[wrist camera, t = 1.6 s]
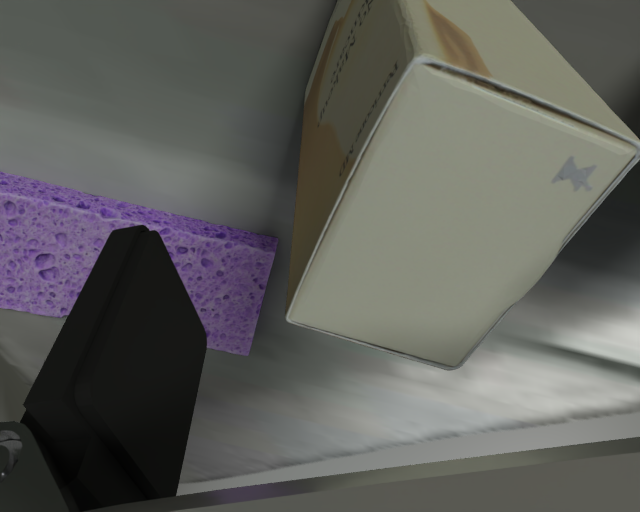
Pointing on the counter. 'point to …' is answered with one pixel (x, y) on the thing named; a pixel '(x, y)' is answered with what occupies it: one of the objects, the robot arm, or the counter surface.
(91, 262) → the sponges
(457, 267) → the skincare box
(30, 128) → the counter surface
